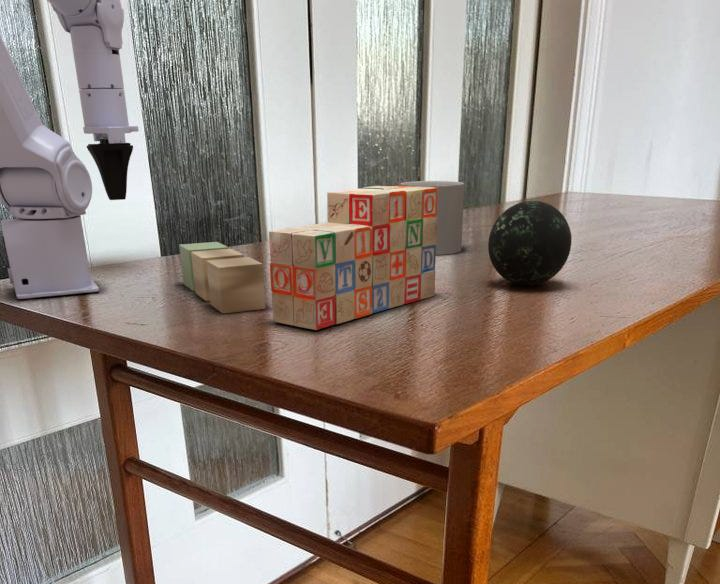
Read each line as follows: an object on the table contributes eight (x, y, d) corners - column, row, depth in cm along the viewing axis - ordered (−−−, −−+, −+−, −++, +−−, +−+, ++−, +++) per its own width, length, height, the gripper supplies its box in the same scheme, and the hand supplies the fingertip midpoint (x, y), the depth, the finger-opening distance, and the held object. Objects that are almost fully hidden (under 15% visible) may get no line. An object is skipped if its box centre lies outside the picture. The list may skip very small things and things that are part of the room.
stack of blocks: (317, 332, 75) (312, 201, 70) (272, 323, 79) (264, 198, 73) (435, 295, 90) (439, 185, 85) (393, 289, 94) (394, 183, 88)
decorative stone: (518, 296, 89) (525, 207, 85) (470, 282, 97) (474, 199, 93) (583, 288, 93) (594, 202, 89) (532, 274, 101) (539, 195, 97)
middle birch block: (206, 301, 89) (201, 257, 86) (195, 293, 93) (191, 251, 90) (246, 297, 90) (243, 254, 88) (234, 289, 95) (231, 248, 92)
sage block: (192, 291, 94) (188, 250, 92) (183, 284, 98) (179, 244, 96) (231, 287, 96) (228, 246, 94) (220, 280, 100) (217, 241, 98)
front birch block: (222, 313, 83) (218, 267, 81) (210, 304, 87) (206, 260, 85) (265, 309, 85) (262, 263, 83) (251, 300, 89) (248, 256, 87)
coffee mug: (442, 257, 115) (445, 186, 110) (387, 251, 120) (387, 184, 115) (481, 245, 125) (484, 180, 120) (428, 241, 130) (430, 178, 125)
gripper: (143, 87, 95) (156, 202, 100) (123, 91, 106) (136, 193, 112) (84, 87, 92) (102, 205, 98) (71, 91, 104) (87, 196, 110)
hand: (117, 199), depth 105 cm, fingers closed
